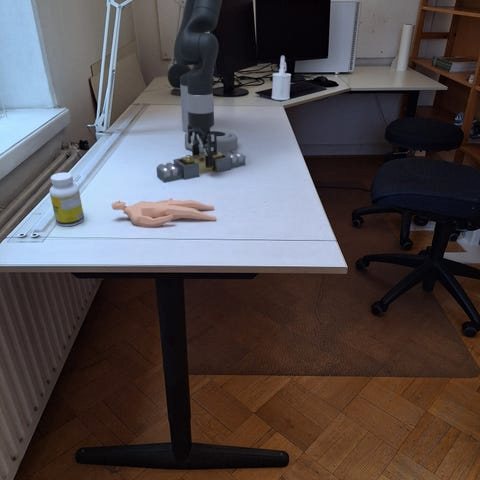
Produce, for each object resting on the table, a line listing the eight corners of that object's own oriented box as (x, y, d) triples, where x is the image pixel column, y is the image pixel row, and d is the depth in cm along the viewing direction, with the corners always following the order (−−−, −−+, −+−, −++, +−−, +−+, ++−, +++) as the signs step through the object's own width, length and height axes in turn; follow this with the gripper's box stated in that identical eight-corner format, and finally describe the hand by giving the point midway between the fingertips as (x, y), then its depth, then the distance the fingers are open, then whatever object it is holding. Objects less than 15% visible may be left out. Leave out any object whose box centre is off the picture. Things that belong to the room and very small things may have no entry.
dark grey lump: (169, 91, 236) (167, 61, 229) (193, 90, 237) (192, 61, 230) (168, 96, 225) (166, 65, 217) (194, 96, 226) (193, 65, 219)
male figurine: (217, 212, 105) (108, 210, 101) (216, 231, 107) (109, 229, 103) (213, 194, 114) (113, 191, 110) (212, 211, 116) (114, 209, 112)
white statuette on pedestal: (272, 95, 229) (274, 54, 219) (290, 96, 228) (292, 54, 218) (270, 100, 220) (272, 57, 210) (289, 101, 219) (292, 57, 209)
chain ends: (155, 175, 133) (154, 163, 131) (235, 159, 146) (235, 147, 144) (165, 183, 127) (164, 170, 125) (247, 166, 140) (247, 154, 138)
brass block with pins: (182, 173, 135) (181, 155, 132) (217, 166, 141) (216, 148, 138) (187, 177, 133) (186, 158, 130) (222, 169, 138) (222, 151, 135)
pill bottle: (60, 215, 110) (50, 171, 104) (87, 214, 110) (79, 170, 104) (53, 227, 104) (42, 181, 98) (81, 227, 105) (72, 181, 99)
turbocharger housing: (245, 151, 157) (216, 141, 166) (247, 132, 154) (217, 124, 163) (211, 159, 146) (181, 149, 155) (212, 140, 143) (181, 130, 152)
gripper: (224, 112, 124) (224, 167, 132) (200, 102, 134) (202, 154, 142) (200, 116, 120) (202, 172, 128) (178, 105, 130) (181, 158, 139)
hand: (202, 162), depth 135 cm, fingers open, 8 cm apart
